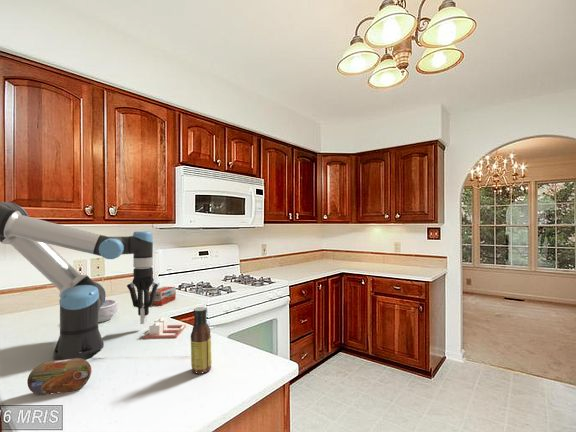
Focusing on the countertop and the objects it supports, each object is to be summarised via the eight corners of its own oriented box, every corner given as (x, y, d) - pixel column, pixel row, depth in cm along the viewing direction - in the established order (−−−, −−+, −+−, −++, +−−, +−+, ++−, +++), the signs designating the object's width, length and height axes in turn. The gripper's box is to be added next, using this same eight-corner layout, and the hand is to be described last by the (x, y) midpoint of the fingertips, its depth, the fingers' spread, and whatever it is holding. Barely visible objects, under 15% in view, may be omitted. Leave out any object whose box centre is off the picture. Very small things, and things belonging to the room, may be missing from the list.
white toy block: (163, 331, 132) (163, 319, 132) (154, 331, 132) (154, 319, 132) (167, 328, 136) (167, 316, 136) (157, 328, 136) (157, 316, 136)
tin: (26, 397, 86) (26, 366, 86) (32, 391, 89) (32, 361, 89) (89, 389, 90) (89, 359, 90) (92, 383, 93) (92, 355, 93)
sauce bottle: (203, 364, 105) (203, 304, 105) (215, 369, 101) (215, 307, 101) (186, 371, 100) (186, 308, 100) (198, 377, 96) (198, 312, 96)
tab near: (159, 336, 126) (159, 324, 126) (149, 336, 126) (149, 324, 126) (162, 333, 130) (162, 320, 130) (153, 333, 130) (153, 321, 130)
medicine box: (163, 299, 192) (163, 285, 193) (175, 299, 191) (175, 286, 191) (148, 305, 178) (148, 291, 178) (161, 306, 176) (161, 292, 176)
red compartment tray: (176, 341, 125) (176, 335, 125) (143, 341, 124) (143, 335, 124) (185, 329, 138) (185, 324, 138) (155, 330, 137) (155, 324, 137)
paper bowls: (76, 326, 142) (76, 309, 143) (86, 316, 157) (86, 300, 157) (114, 323, 147) (114, 306, 147) (120, 313, 162) (120, 298, 162)
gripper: (161, 265, 138) (162, 319, 138) (131, 266, 138) (131, 320, 137) (155, 268, 131) (155, 325, 130) (123, 269, 130) (123, 326, 130)
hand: (143, 322), depth 134 cm, fingers closed
